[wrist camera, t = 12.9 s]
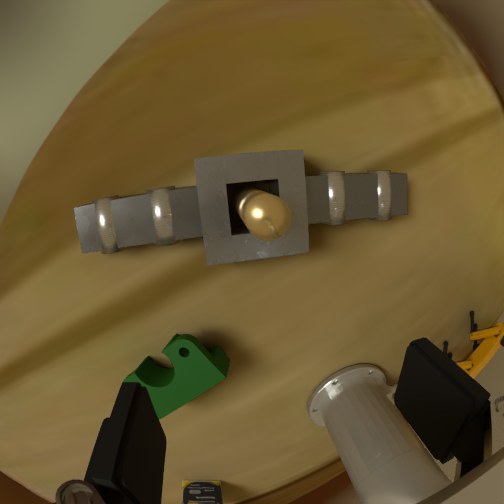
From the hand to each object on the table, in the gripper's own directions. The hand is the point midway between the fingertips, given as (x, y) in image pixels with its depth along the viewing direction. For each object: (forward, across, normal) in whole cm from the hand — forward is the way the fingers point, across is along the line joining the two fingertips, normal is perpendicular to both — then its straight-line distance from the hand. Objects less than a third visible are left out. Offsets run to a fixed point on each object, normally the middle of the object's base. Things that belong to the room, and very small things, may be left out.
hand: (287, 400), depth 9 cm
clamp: (+22, +8, +13) cm, 27 cm away
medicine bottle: (+22, +11, +47) cm, 53 cm away
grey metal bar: (+21, -1, -5) cm, 22 cm away
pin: (+21, -2, -5) cm, 22 cm away
